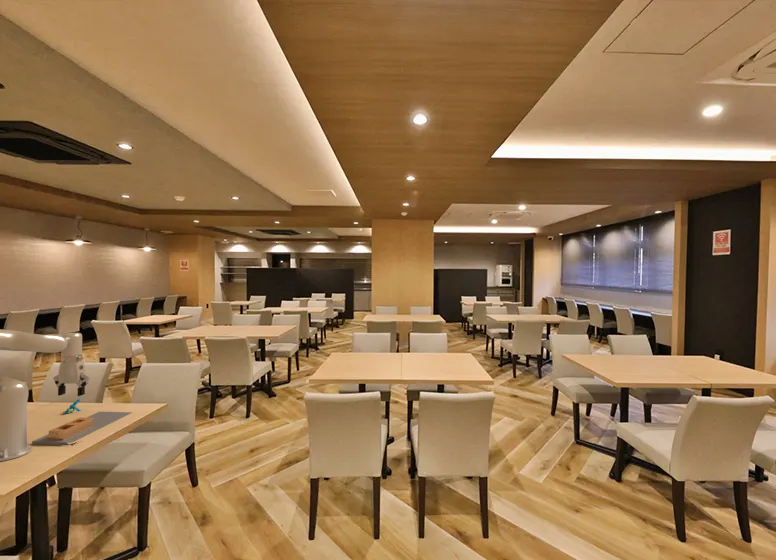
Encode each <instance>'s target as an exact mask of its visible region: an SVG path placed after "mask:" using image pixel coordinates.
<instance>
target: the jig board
mask: <svg viewBox="0 0 776 560" xmlns="http://www.w3.org/2000/svg"><path fill="white" fill-rule="evenodd" d="M133 413H134V412H131V411H129V412H126V411H97V412H95V413H93V414H91V415H89V416H85V418H94V426H92V427H90V428H88V429H86V430H84V431H82V432H79V433H77V434H75V435H73V436H71V437H69V438H67V439H65V440H49V433H48V434H46V435H45V434H44V435H43V436H41V437H39V438H37V439H34V440H32V442H31V446H32V445H35V446H37V445H38V446H39V445H40V446H62V445H73V444H75V443H77V442H78V440H81V439H82V438H85V437H86V436H88V435H90V434H92V433H94V432H96V431H98V430H101V429H102V428H104V427H107V426H108V425H110V424H113V423H114V422H117V421H119V420H120V419H123V418H125V417H126V416H128V415H130V414H133ZM77 444H78V443H77ZM75 445H76V444H75ZM73 446H74V445H73Z"/></svg>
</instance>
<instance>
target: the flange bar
mask: <svg viewBox="0 0 776 560" xmlns="http://www.w3.org/2000/svg"><path fill="white" fill-rule="evenodd" d="M92 426H94V418H86V417H82V416H80V417H79V418H76V419H73V420H71V421H69V422H65V423H64V424H61V425H59V426H57V427H55V428H53V429H50V430H48V434H49V440H65V439H67V438H69V437H71V436H73V435H75V434H77V433H79V432H82V431H84V430H86V429H88V428H90V427H92Z"/></svg>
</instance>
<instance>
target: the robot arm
mask: <svg viewBox="0 0 776 560" xmlns="http://www.w3.org/2000/svg"><path fill="white" fill-rule="evenodd" d="M0 351H11V352H33V353H34V352H35V353H51V354H52V353H53V354H54V353H60V352H61V353H60V364H59V366H58V374H57V375H55V376H53V381H54V384H56V387H57V396H63V395H65V394H66V390H67V388H66V384H68V385H69V384H73V385H74V384H75V385H77V386H78V387H77V397H81V396H83V395H85V394H86V388H85V387H86V386H87V384H89V382H90V379H91V377H90V376H88V375H87V372H86V365H85V362H84V361H83V360H84V357H83V334H82V333H81V332H68V333H60V334H57V333H55V334H54V333H52V334H49V333H48V334H40V333H38V334H37V333H30V332H24V331H19V330H13V329H4V328H3V329H2V328H1V329H0ZM28 399H29V387H28V386H27V384H26V383H25V382H23V381H21V380H18V379H16V378H12V377H9V376H5V375H1V374H0V462H3V461H5V462H6V461H9V460H14V459H16V458H19V457H22V456H24V455H27V454H29V453H30V452H32V450H33V446H32V444H31V445H30V444H28V413H27V412H28Z"/></svg>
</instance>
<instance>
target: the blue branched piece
mask: <svg viewBox="0 0 776 560" xmlns="http://www.w3.org/2000/svg"><path fill="white" fill-rule="evenodd" d="M81 400H82V398H81V397H79V398H78V399H77V400H76V401H74V402H73V403H72V404H70V405H69V407H68V408H67V409H66V410H65V411H64V412H63V415H67V414H68V413H70V414H74V413H75V410H76V411H77V412H81V411H82V410H81V409H80V408H78V407H77V405H78V404H79V403H80V401H81Z"/></svg>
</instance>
